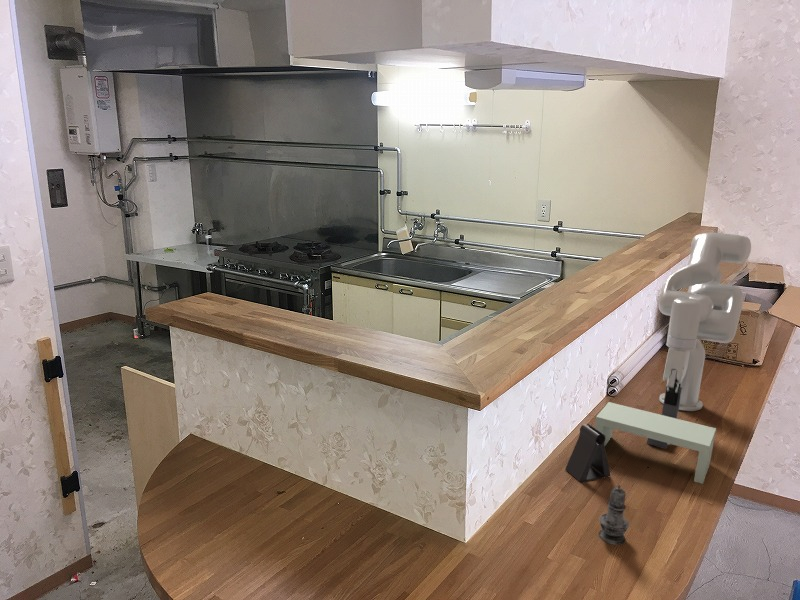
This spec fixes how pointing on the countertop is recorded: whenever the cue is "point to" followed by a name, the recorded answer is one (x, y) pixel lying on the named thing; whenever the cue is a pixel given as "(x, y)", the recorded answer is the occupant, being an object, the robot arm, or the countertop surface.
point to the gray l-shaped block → (670, 412)
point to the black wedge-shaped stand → (589, 456)
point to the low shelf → (659, 431)
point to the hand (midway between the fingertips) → (671, 402)
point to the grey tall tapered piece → (614, 518)
